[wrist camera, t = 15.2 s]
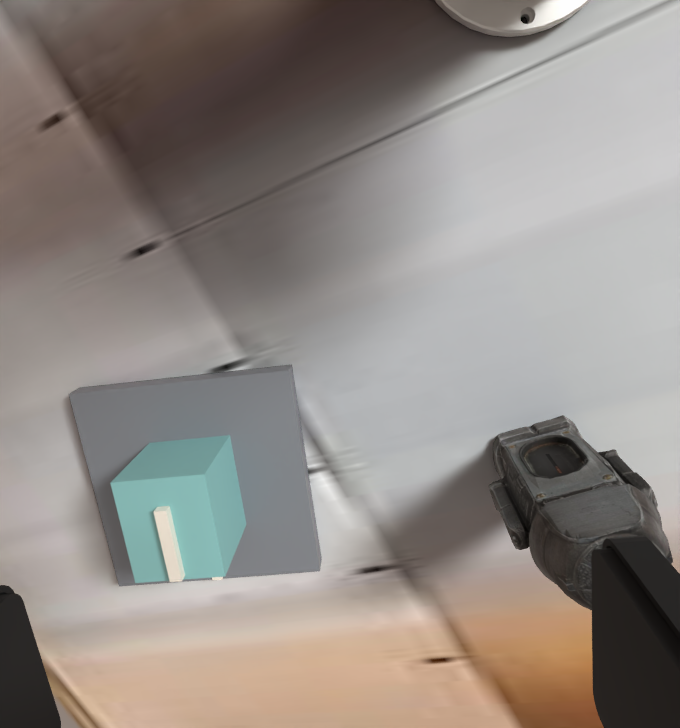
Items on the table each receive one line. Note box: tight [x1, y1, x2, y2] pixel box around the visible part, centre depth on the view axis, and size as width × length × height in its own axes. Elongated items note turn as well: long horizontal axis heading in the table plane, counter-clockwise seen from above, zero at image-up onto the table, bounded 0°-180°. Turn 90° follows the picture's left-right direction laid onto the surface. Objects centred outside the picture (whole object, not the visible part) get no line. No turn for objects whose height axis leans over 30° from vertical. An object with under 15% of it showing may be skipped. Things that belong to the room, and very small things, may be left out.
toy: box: [489, 416, 673, 610], centre depth 33 cm, size 8×6×15 cm
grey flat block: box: [69, 365, 321, 586], centre depth 39 cm, size 16×16×6 cm
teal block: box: [110, 435, 246, 583], centre depth 37 cm, size 7×6×7 cm
